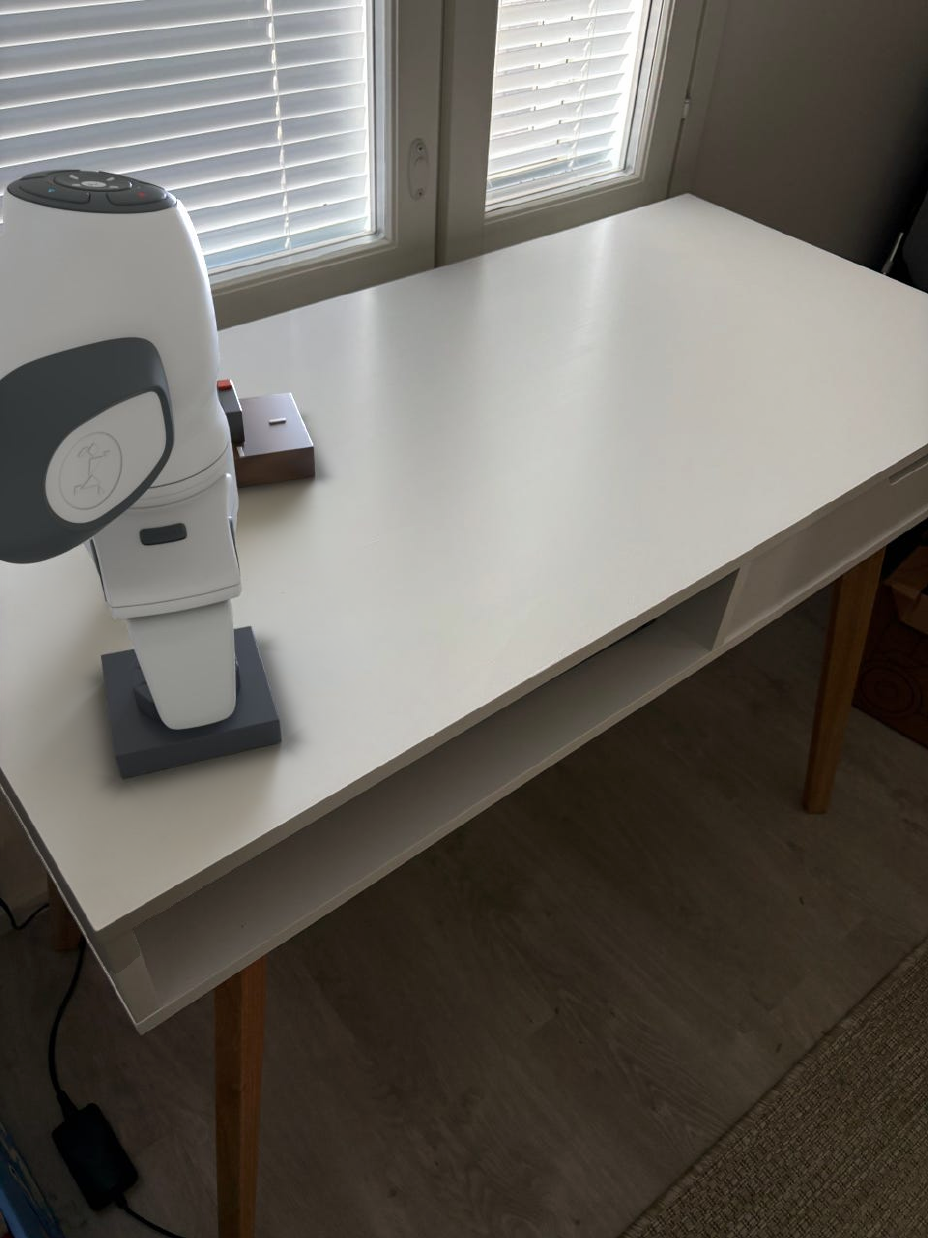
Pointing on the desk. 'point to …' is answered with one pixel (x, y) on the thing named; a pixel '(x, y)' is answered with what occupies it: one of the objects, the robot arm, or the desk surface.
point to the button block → (159, 747)
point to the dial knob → (231, 410)
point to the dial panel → (272, 442)
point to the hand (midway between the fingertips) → (187, 665)
